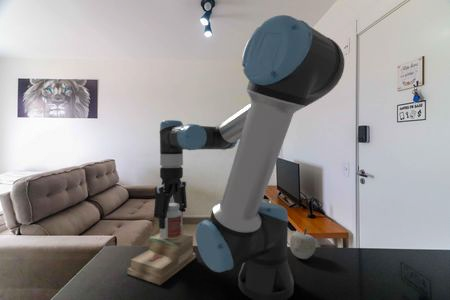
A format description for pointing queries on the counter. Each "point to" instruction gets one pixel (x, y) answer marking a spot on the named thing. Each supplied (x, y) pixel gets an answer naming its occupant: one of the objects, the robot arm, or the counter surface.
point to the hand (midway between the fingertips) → (171, 233)
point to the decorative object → (302, 244)
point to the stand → (162, 258)
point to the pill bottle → (174, 221)
